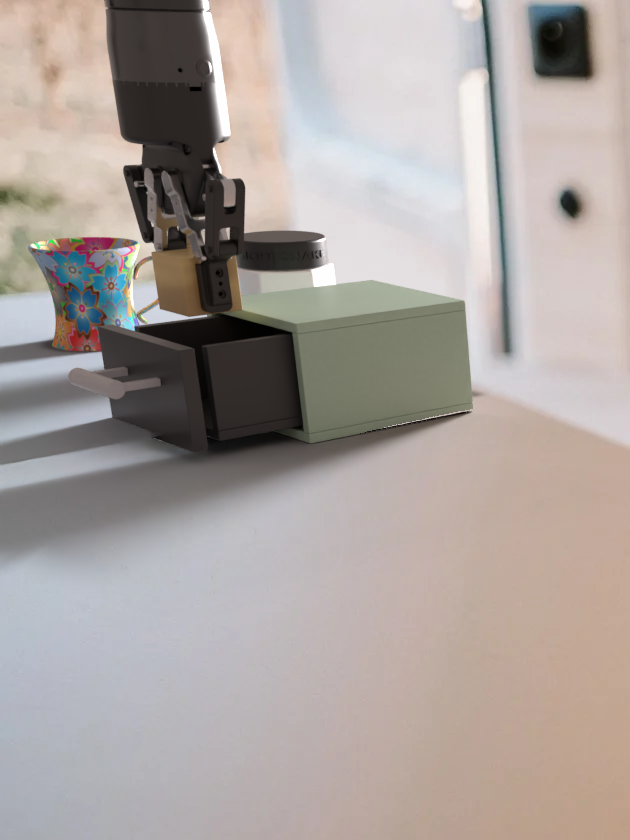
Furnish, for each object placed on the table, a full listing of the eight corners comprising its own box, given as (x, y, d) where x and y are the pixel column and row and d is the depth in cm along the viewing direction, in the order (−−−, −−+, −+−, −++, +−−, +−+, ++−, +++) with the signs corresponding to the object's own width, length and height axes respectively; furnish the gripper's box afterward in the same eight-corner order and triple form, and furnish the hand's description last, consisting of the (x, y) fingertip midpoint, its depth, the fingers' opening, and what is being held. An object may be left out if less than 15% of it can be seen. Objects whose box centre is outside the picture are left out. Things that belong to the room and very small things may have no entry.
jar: (246, 375, 149) (228, 243, 145) (242, 357, 156) (225, 231, 152) (348, 369, 153) (334, 241, 148) (340, 352, 160) (326, 229, 155)
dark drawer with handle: (138, 463, 119) (121, 358, 116) (59, 432, 126) (41, 333, 123) (363, 420, 133) (354, 325, 130) (281, 394, 139) (269, 304, 137)
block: (188, 317, 123) (180, 258, 121) (159, 309, 125) (150, 251, 124) (243, 310, 126) (235, 253, 124) (213, 302, 129) (205, 246, 127)
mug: (47, 369, 149) (27, 252, 145) (47, 350, 156) (28, 238, 152) (189, 361, 154) (173, 248, 150) (183, 342, 161) (168, 234, 158)
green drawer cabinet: (310, 443, 129) (296, 323, 125) (220, 413, 136) (204, 299, 133) (473, 411, 140) (465, 300, 137) (382, 385, 148) (372, 279, 144)
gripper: (70, 70, 120) (107, 300, 127) (167, 81, 112) (202, 326, 119) (168, 69, 126) (199, 289, 132) (267, 80, 118) (295, 313, 124)
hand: (200, 305), depth 126 cm, fingers closed on block, 4 cm apart
